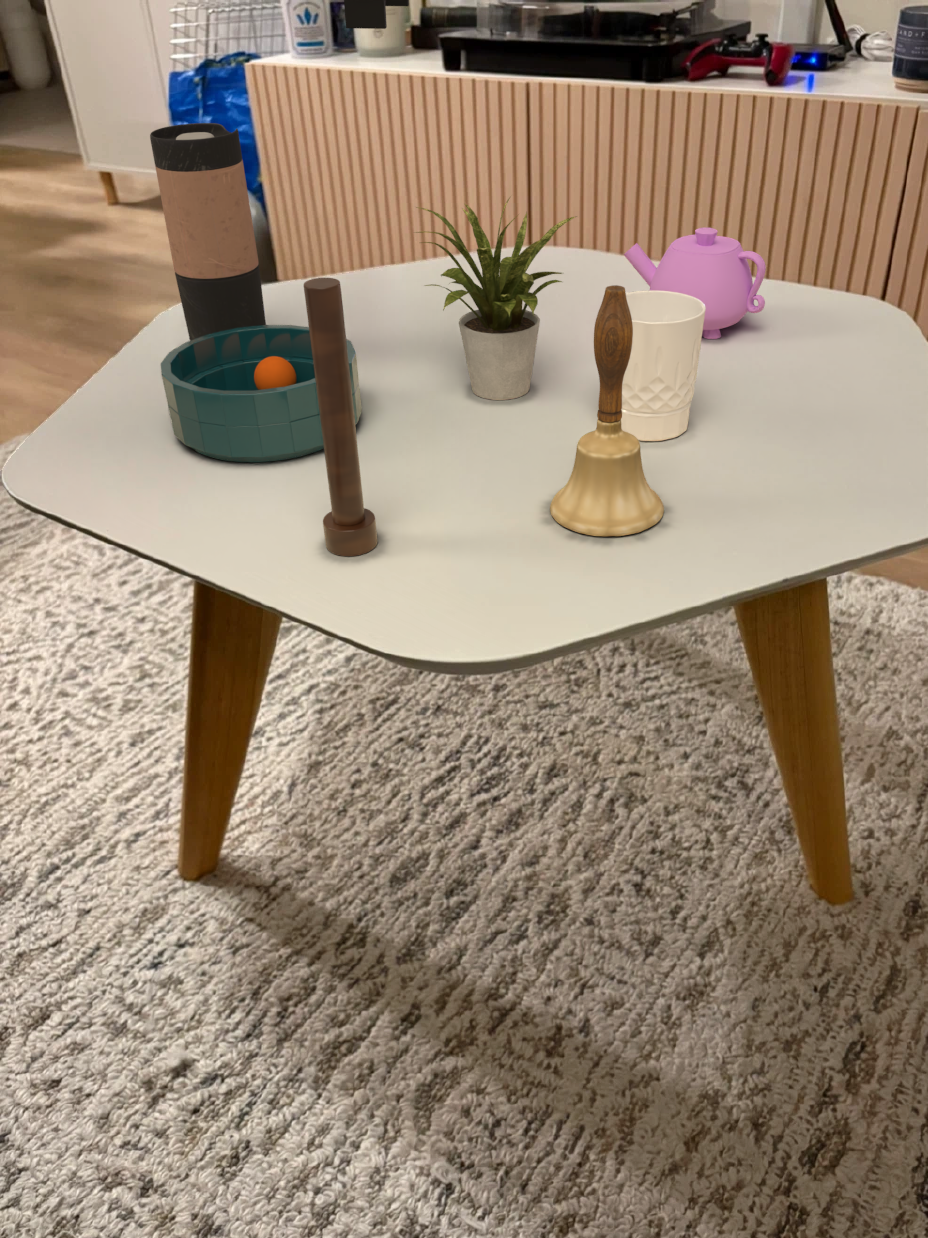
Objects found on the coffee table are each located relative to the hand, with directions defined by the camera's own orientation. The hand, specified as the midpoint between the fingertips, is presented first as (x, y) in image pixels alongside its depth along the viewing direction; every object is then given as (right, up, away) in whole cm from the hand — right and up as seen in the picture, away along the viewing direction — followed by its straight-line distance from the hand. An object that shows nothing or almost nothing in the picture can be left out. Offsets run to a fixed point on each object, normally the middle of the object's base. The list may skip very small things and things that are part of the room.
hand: (379, 16), depth 81 cm
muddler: (-1, -39, -4) cm, 40 cm away
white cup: (+21, -28, +11) cm, 37 cm away
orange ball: (-11, -23, +14) cm, 29 cm away
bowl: (-11, -27, +12) cm, 32 cm away
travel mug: (-17, -18, +26) cm, 36 cm away
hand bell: (+17, -37, -1) cm, 40 cm away
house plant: (+7, -23, +18) cm, 30 cm away
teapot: (+28, -13, +31) cm, 44 cm away
